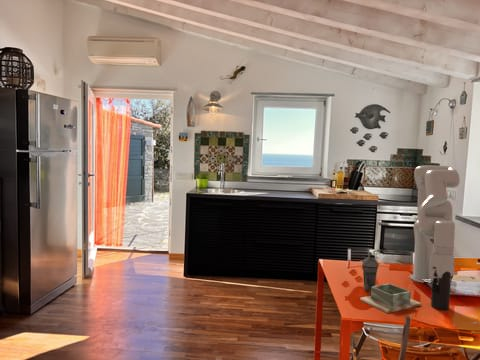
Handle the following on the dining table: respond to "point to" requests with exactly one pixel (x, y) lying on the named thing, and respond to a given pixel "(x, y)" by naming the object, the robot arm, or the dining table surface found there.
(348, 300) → the dining table surface
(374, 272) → the beverage cup
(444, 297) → the vinegar
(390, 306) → the bottle caddy
